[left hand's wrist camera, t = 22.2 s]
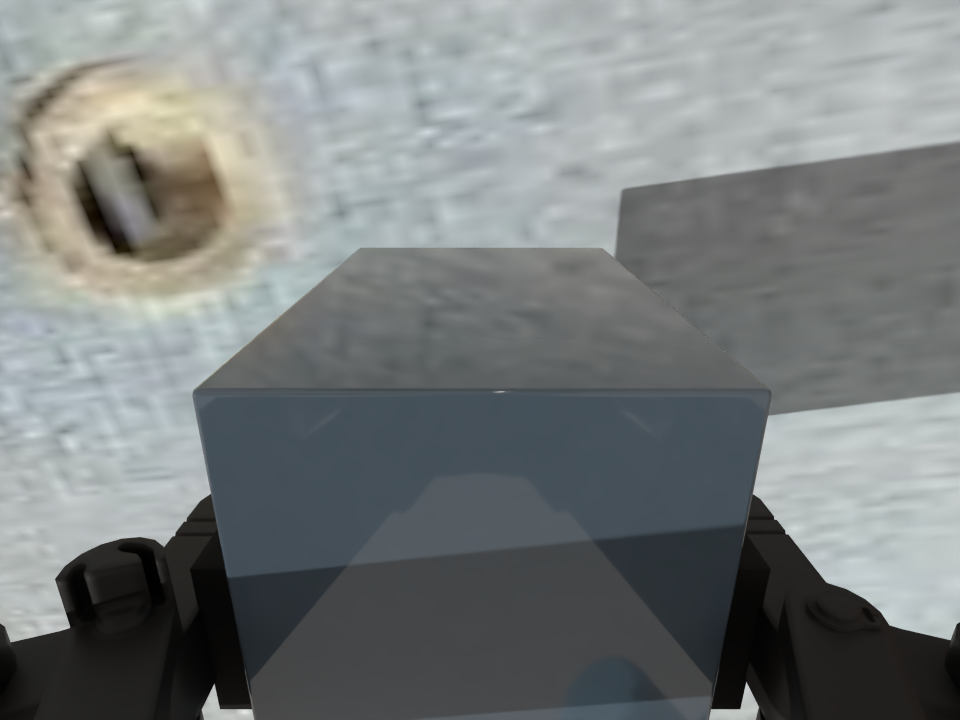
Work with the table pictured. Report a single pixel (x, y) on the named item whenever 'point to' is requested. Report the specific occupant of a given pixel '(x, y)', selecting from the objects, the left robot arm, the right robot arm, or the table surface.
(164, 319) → the table surface
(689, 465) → the grey rectangular block
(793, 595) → the left robot arm
